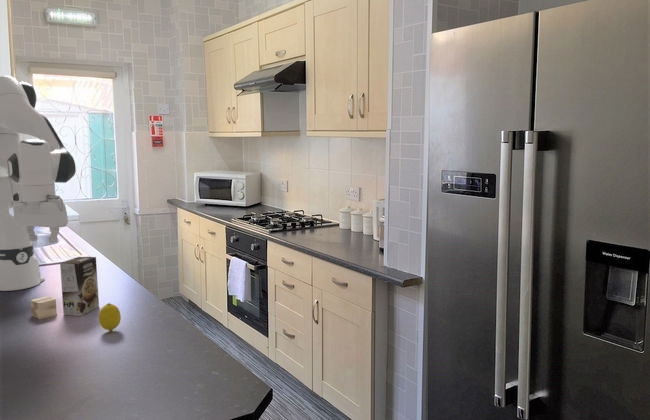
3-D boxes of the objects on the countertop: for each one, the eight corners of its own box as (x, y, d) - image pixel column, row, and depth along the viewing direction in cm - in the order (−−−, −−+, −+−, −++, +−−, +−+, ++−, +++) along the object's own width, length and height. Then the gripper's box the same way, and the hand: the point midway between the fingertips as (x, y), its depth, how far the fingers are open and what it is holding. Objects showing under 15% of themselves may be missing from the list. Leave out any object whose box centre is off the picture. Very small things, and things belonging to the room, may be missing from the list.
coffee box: (82, 316, 163) (78, 263, 161) (62, 315, 164) (58, 262, 162) (100, 306, 172) (96, 256, 170) (81, 305, 173) (78, 255, 171)
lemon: (125, 329, 153) (124, 301, 151) (112, 336, 147) (110, 307, 146) (109, 326, 154) (107, 299, 153) (95, 333, 149) (93, 305, 148)
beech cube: (31, 316, 164) (30, 300, 163) (48, 311, 168) (47, 296, 167) (39, 319, 161) (38, 303, 160) (56, 315, 165) (55, 299, 164)
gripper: (71, 194, 158) (75, 241, 160) (27, 194, 168) (32, 238, 170) (51, 196, 153) (55, 245, 154) (7, 195, 163) (12, 241, 164)
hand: (43, 241), depth 162 cm, fingers open, 8 cm apart
